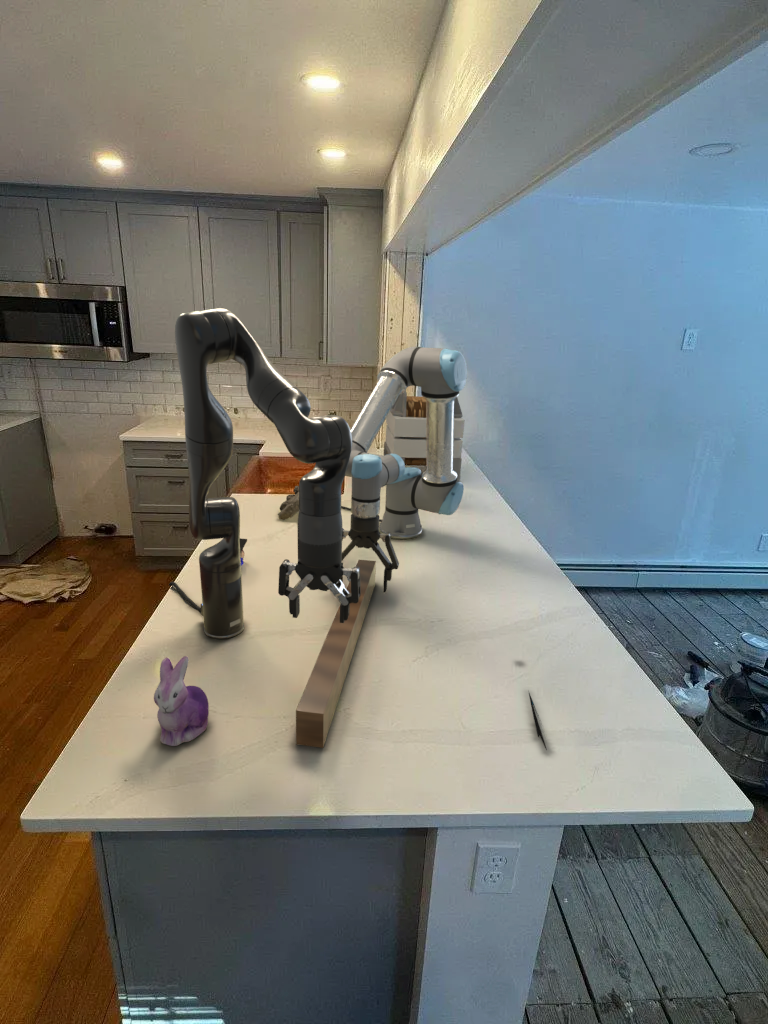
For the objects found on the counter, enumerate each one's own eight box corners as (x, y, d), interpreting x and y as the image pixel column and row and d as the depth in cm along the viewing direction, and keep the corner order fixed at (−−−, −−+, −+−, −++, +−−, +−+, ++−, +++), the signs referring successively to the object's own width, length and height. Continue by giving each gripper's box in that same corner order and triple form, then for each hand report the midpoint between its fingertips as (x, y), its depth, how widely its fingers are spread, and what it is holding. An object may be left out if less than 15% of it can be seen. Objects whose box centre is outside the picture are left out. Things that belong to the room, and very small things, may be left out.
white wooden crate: (382, 463, 289) (386, 382, 275) (445, 464, 293) (451, 384, 279) (390, 482, 257) (394, 392, 243) (460, 483, 261) (468, 394, 247)
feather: (520, 667, 129) (525, 661, 129) (546, 754, 103) (553, 747, 102) (514, 663, 129) (519, 657, 129) (538, 750, 103) (545, 742, 102)
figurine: (161, 756, 98) (153, 683, 93) (154, 719, 106) (146, 651, 101) (216, 740, 102) (211, 669, 97) (205, 705, 111) (200, 639, 106)
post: (357, 582, 163) (358, 559, 161) (375, 584, 163) (376, 561, 160) (296, 744, 102) (295, 710, 100) (323, 748, 102) (323, 714, 99)
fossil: (283, 491, 225) (311, 471, 220) (299, 509, 228) (327, 489, 223) (268, 515, 206) (298, 494, 201) (285, 535, 209) (316, 514, 204)
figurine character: (238, 584, 162) (249, 557, 175) (236, 562, 158) (247, 536, 172) (215, 584, 161) (227, 556, 175) (212, 561, 158) (225, 535, 171)
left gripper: (272, 539, 93) (274, 625, 99) (357, 546, 92) (355, 633, 97) (285, 523, 100) (286, 604, 106) (365, 530, 99) (362, 612, 104)
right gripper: (316, 515, 146) (316, 590, 153) (409, 523, 143) (404, 599, 151) (323, 505, 153) (322, 578, 160) (412, 513, 150) (407, 586, 158)
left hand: (319, 618), depth 101 cm, fingers open, 8 cm apart
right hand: (362, 588), depth 155 cm, fingers open, 12 cm apart
